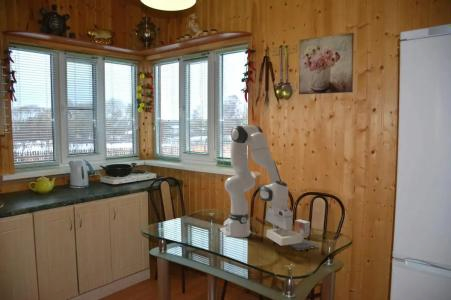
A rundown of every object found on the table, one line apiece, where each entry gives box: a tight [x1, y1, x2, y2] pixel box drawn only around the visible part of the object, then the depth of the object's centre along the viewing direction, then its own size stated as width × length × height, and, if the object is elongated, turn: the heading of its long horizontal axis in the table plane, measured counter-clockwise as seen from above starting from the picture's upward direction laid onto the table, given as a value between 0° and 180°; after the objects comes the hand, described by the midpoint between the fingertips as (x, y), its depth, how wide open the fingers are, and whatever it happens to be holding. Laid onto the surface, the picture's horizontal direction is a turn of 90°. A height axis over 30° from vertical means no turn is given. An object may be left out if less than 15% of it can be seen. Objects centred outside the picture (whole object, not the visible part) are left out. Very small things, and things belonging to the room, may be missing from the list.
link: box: [265, 227, 302, 247], centre depth 193 cm, size 14×14×4 cm
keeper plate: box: [288, 232, 319, 251], centre depth 206 cm, size 14×14×8 cm
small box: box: [293, 218, 311, 237], centre depth 223 cm, size 8×6×10 cm
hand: (277, 233), depth 198 cm, fingers closed on link, 2 cm apart
